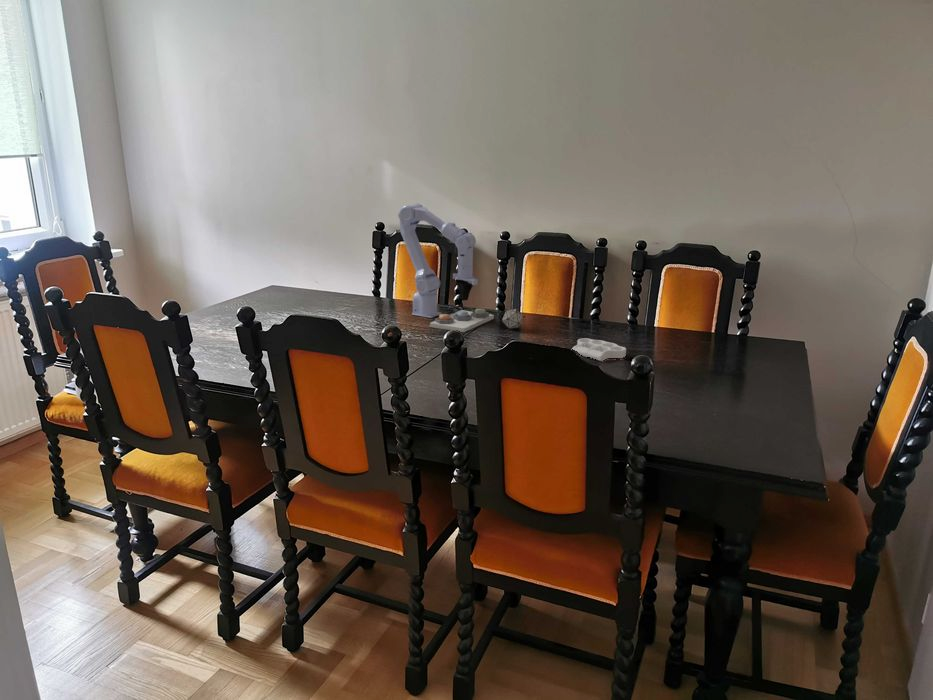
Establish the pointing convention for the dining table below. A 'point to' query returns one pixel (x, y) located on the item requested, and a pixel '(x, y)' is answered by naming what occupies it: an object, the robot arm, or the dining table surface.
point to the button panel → (462, 321)
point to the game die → (512, 318)
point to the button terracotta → (444, 317)
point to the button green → (479, 311)
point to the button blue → (462, 314)
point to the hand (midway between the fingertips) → (464, 299)
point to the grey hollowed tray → (599, 349)
